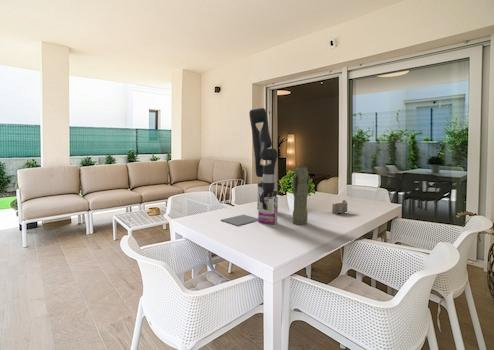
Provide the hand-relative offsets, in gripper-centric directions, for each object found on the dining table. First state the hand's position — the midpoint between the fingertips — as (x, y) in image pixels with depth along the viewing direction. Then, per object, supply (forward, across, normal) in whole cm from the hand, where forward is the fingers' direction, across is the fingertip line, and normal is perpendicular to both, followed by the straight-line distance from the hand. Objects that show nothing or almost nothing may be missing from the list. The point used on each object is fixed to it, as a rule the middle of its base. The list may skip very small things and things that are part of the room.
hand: (268, 208), depth 180 cm
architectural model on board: (+10, -55, +18) cm, 59 cm away
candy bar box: (+9, 0, 0) cm, 9 cm away
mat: (+9, +9, -15) cm, 20 cm away
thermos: (+9, -14, +14) cm, 22 cm away
